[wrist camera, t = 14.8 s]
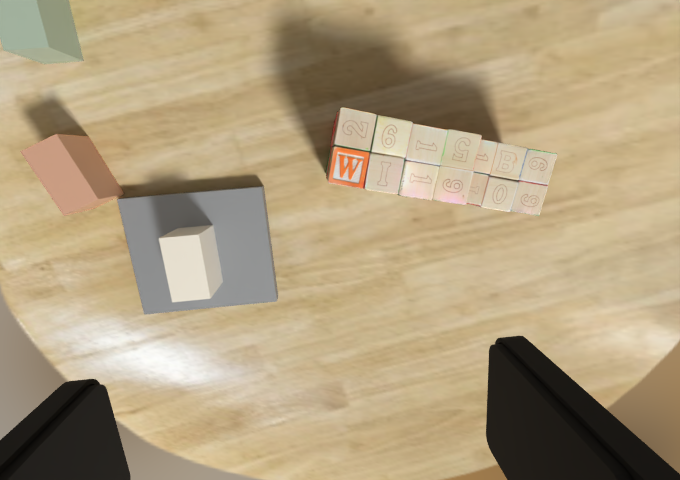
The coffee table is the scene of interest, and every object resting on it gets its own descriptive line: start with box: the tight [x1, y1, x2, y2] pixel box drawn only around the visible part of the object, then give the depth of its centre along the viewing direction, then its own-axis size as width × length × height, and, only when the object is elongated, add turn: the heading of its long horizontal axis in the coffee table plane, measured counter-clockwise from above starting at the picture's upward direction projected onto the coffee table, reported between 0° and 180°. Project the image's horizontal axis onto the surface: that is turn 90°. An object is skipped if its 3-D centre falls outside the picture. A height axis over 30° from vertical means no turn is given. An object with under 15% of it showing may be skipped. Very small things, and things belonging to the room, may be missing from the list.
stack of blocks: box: [326, 107, 557, 216], centre depth 35 cm, size 21×6×12 cm, turn 80°
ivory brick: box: [159, 225, 223, 302], centre depth 38 cm, size 7×4×5 cm, turn 5°
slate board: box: [117, 186, 278, 314], centre depth 41 cm, size 14×16×2 cm
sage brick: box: [0, 0, 84, 64], centre depth 33 cm, size 7×4×5 cm, turn 5°
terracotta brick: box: [20, 134, 124, 216], centre depth 37 cm, size 7×4×5 cm, turn 24°
